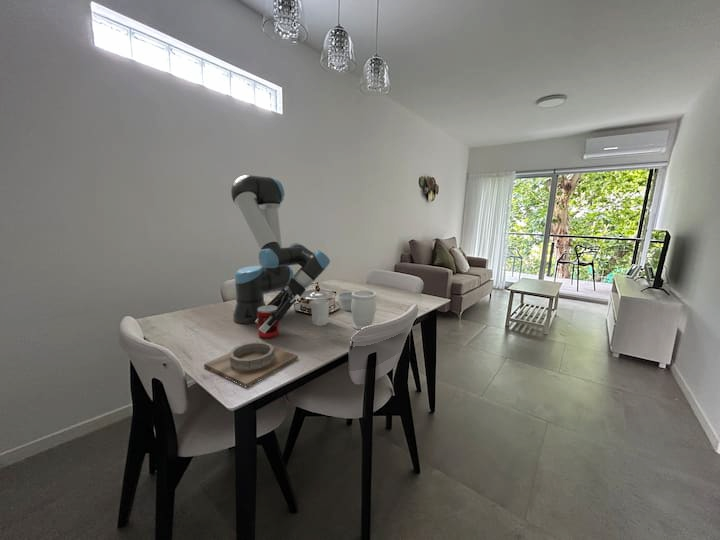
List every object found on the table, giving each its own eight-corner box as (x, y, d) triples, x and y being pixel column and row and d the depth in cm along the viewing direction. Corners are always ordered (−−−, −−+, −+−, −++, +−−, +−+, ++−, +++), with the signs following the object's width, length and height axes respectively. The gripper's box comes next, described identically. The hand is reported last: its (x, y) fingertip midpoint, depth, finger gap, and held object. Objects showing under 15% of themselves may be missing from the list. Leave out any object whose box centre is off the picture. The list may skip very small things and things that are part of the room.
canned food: (269, 329, 120) (268, 303, 118) (283, 333, 116) (282, 307, 114) (254, 335, 114) (252, 308, 112) (268, 340, 110) (267, 312, 108)
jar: (363, 320, 133) (364, 289, 131) (380, 327, 126) (381, 293, 123) (345, 326, 126) (346, 292, 123) (362, 333, 119) (363, 298, 116)
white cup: (330, 320, 133) (330, 299, 131) (327, 326, 125) (327, 304, 123) (313, 319, 134) (313, 298, 132) (309, 325, 126) (308, 303, 124)
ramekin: (363, 312, 145) (363, 299, 144) (337, 312, 145) (337, 298, 144) (362, 304, 158) (363, 292, 157) (338, 304, 158) (338, 291, 157)
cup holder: (204, 367, 90) (203, 354, 89) (257, 344, 107) (256, 333, 106) (246, 388, 80) (245, 373, 79) (297, 358, 96) (297, 347, 96)
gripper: (314, 295, 110) (272, 342, 106) (298, 283, 128) (262, 323, 123) (300, 282, 107) (256, 331, 102) (286, 272, 125) (248, 313, 120)
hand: (259, 327), depth 113 cm, fingers closed on canned food, 8 cm apart
